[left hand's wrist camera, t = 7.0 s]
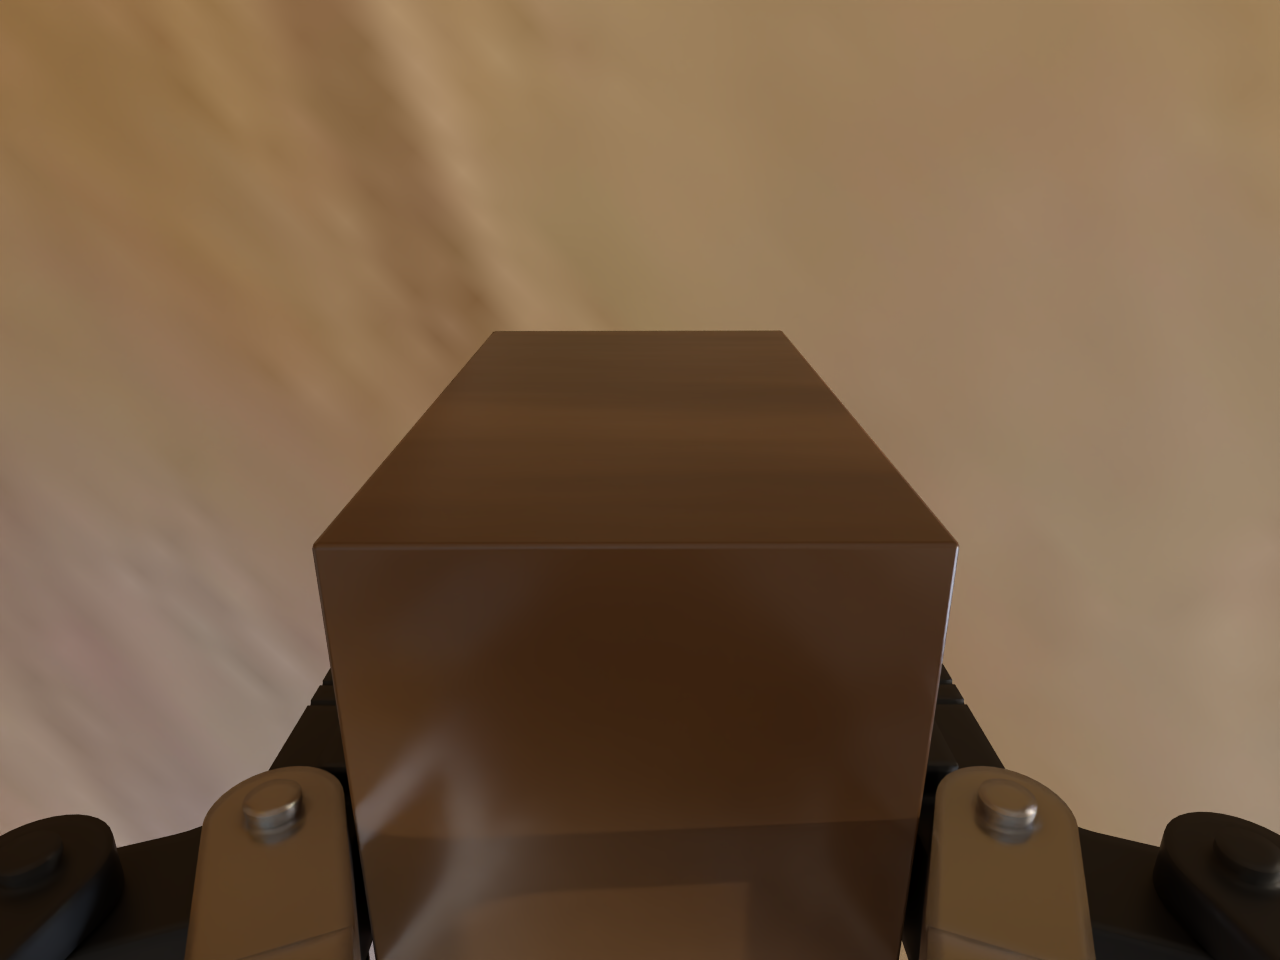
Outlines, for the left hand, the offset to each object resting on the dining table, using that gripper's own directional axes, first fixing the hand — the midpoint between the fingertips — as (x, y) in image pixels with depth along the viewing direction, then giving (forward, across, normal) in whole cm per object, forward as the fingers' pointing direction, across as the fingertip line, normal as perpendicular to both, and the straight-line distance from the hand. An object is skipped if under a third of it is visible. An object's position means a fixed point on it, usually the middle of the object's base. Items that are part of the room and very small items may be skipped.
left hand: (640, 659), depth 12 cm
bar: (+4, 0, -9) cm, 10 cm away
